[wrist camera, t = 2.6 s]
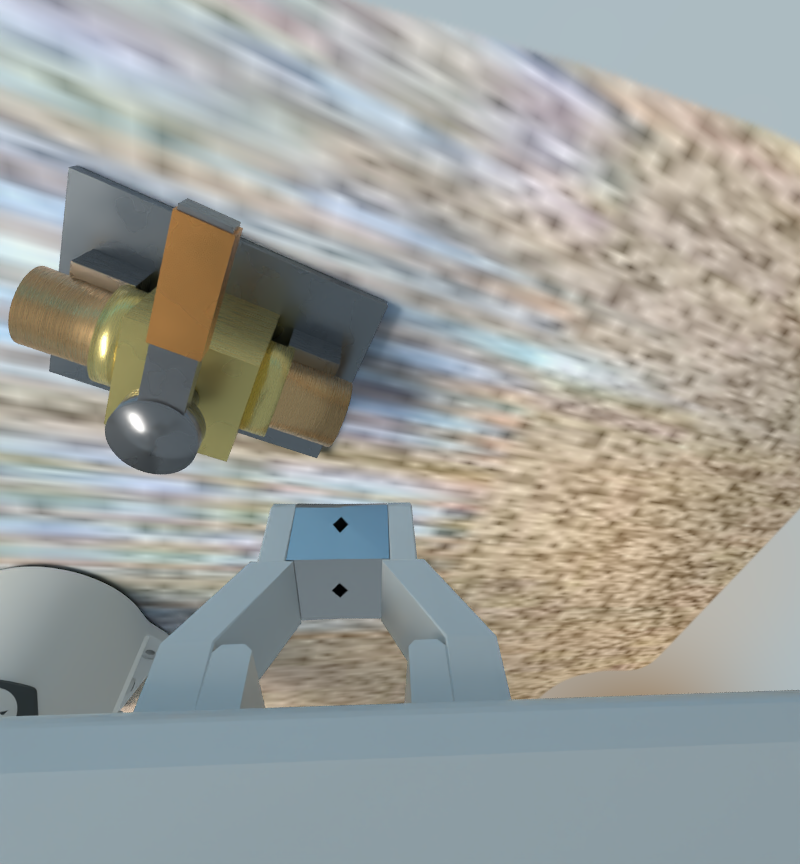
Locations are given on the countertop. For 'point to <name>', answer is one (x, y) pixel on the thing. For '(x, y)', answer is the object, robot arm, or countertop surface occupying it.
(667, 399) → the countertop surface
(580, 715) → the robot arm
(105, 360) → the valve
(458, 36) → the countertop surface
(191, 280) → the lever
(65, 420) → the countertop surface
